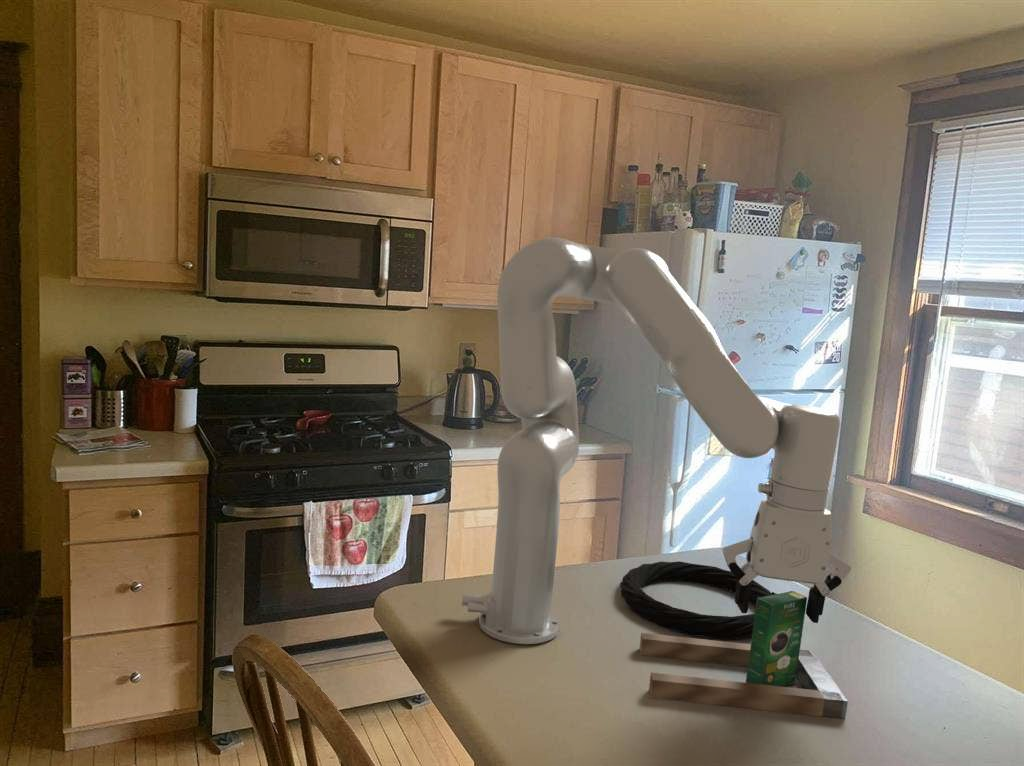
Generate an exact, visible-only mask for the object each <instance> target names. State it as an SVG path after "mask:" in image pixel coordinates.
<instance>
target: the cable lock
mask: <svg viewBox="0 0 1024 766" xmlns="http://www.w3.org/2000/svg"><path fill="white" fill-rule="evenodd" d="M660 580H671V581H682V580H683V581H682V582H689V581H691V582H690V583H701V582H702V583H701V584H704V583H705V584H704V585H708V584H709V586H712V585H713V586H712V587H715V586H716V588H722V589H724V588H726V589H725V590H727V589H728V590H727V591H729V590H731V591H730V592H732V591H733V592H735V593H736V587H737V578H736V577H735V576H734V574H733V573H732V572H731V571H730V570H728V569H727V570H726V569H723V568H720V567H718V566H712V565H704V564H696V563H690V562H685V561H657V562H652V563H642V564H640V565H639V566H638V567H635V568H631V569H629V571H628V572H627V573H626V574H625V575H623V577H622V580H621V582H620V584H619V588H620V595H621V597H622V598H623V599H624V601H625V603H626V605H627V606H628V607H629V608H630V609H632V610H633V612H635V613H636V614H637V615H639V616H640V617H643V618H645V619H647V620H649V621H651V622H653V623H654V624H656V625H658V626H660V627H662V628H667V629H671V630H675V631H678V632H679V633H683V634H684V633H685V634H687V635H690V636H694V637H695V636H696V637H705V638H713V639H723V640H724V639H748V638H752V634H753V627H754V620H755V613H749V614H743V615H736V616H727V615H711V614H702V613H697V612H694V611H691V610H690V611H689V610H685V609H680V608H678V607H674V606H672V605H669V604H667V603H664V602H662V601H659V600H656V599H655V598H653V597H652V596H650V595H648V594H647V593H645V591H644V590H643V589H642V588H643V587H644V586H645V585H648V584H652V582H653V583H656V582H661V581H660ZM749 584H750V586H751V595H750V601H749V602H751V603H752V604H753V605H755V606H756V604H757V598H759V597H765V596H770V595H775V594H777V593H776V592H774V591H772V592H771V590H769V589H767V588H766V587H764V586H763V585H761V584H760V583H758V582H757V581H755V579H753V580H752V581H751V582H750V583H749ZM733 592H732V593H733ZM735 593H734V594H735Z"/></svg>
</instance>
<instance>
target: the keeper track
mask: <svg viewBox="0 0 1024 766" xmlns="http://www.w3.org/2000/svg"><path fill="white" fill-rule="evenodd" d="M750 649H751V644H749V643H742V642H733V641H721V640H712V639H703V638H694V637H685V636H676V635H675V636H673V635H666V634H657V633H655V634H654V633H647V632H641V633H640V642H639V652H640V655H641V656H649V657H650V656H651V657H658V658H667V659H668V658H669V659H680V660H687V661H696V662H705V661H706V663H714V662H716V663H717V664H723V663H726V664H725V665H732V664H733V665H734V666H743V665H744V667H748V662H749V656H750ZM716 663H715V664H716ZM733 665H732V666H733ZM649 677H650V678H649V686H648V687H649V688H648V692H649V696H650V698H651V699H659V700H660V699H661V700H670V701H678V702H687V703H697V704H708V705H715V706H725V707H733V708H735V707H736V708H743V709H752V710H760V711H769V712H779V713H788V714H796V715H807V716H816V717H825V718H832V719H833V718H834V719H840V720H841V719H843V720H846V716H847V709H848V702H849V701H848V699H847V698H846V696H845V694H844V693H843V692H842V691H841V690H840V688H839V686H838V685H837V683H836V682H835V681H834V679H833V678H832V676H831V675H830V674H829V672H828V671H827V670H826V668H825V667H824V665H823V664H822V662H821V661H820V659H819V658H818V657H817V655H816V654H815V652H814V651H813V650H807V649H800V652H799V660H798V667H797V675H796V678H798V680H799V682H800V683H801V685H802V686H803V688H800V687H799V688H798V687H789V686H783V687H781V686H771V685H762V684H753V683H746V682H742V681H733V680H723V679H715V678H705V677H697V676H688V675H687V676H686V675H676V674H671V673H670V674H668V673H659V672H650V676H649Z"/></svg>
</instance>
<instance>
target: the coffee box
mask: <svg viewBox="0 0 1024 766" xmlns="http://www.w3.org/2000/svg"><path fill="white" fill-rule="evenodd" d="M807 602H808V596H805V595H803V594H801V593H798V592H796V591H794V590H790V591H785V592H781V593H776V594H775V595H770V596H765V597H759V598H757V604H756V605H755V613H754V614H755V620H754V627H753V634H752V637H751V642H750V643H751V649H750V656H749V662H748V666H747V671H746V679H745V683H753V684H762V685H771V686H781V687H789V686H790V685H792V684H795V683H796V680H797V667H798V660H799V652H800V650H801V644H802V636H803V630H804V629H803V628H804V624H805V623H804V622H805V615H806V607H807Z"/></svg>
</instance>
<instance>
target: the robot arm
mask: <svg viewBox="0 0 1024 766" xmlns="http://www.w3.org/2000/svg"><path fill="white" fill-rule="evenodd" d="M498 281H499V282H498V286H497V294H496V295H497V296H496V299H497V304H496V305H497V322H498V348H499V350H498V351H499V367H500V370H499V371H500V391H501V392H500V393H501V397H502V402H503V403H504V406H505V408H506V409H507V410H508V412H509V413H510V414H511V415H512V416H514V417H517V418H520V419H521V429H520V430H518V431H517V432H515V433H513V434H512V435H511V436H510V437H509V438H508V439H507V440H506V442H505V443H504V444H503V446H502V448H501V450H500V452H499V454H498V455H499V456H498V459H497V469H496V470H497V474H496V475H497V490H498V491H497V492H498V494H497V496H498V497H497V498H498V499H497V500H498V501H497V502H498V503H497V504H498V505H497V518H496V531H495V533H496V534H495V543H494V545H495V546H494V556H493V558H494V559H493V569H492V582H491V588H490V590H489V593H483V594H482V595H476V594H472V593H465V592H464V593H462V598H461V599H462V601H461V607H467V612H468V613H479V616H478V625H479V628H480V629H481V630H482V631H483V632H484V634H486V635H488V636H489V637H491V638H493V639H496V640H498V641H501V642H503V643H504V642H505V643H509V644H517V645H537V644H542V643H546V642H548V641H550V640H552V639H554V638H555V637H557V635H558V634H559V632H560V621H559V618H557V616H556V615H555V614H554V613H552V606H553V605H552V604H553V593H554V583H555V571H556V563H557V562H556V560H557V551H558V539H559V528H560V517H561V515H560V514H561V511H560V510H561V498H560V496H561V495H560V489H561V488H560V487H561V479H562V478H563V476H564V475H566V474H568V472H569V471H570V470H571V469H572V468H573V467H574V465H575V464H576V461H577V460H578V456H579V449H580V447H579V446H580V437H579V417H578V415H579V414H578V400H577V398H578V397H577V385H576V384H577V383H576V380H575V376H574V373H573V370H572V369H571V367H570V366H569V365H568V363H567V362H566V361H565V360H564V359H562V358H561V357H560V356H557V347H556V346H557V344H556V325H555V318H554V314H553V303H554V301H555V299H556V298H557V297H560V298H561V297H562V298H572V299H579V300H580V299H581V300H589V301H594V302H600V303H607V304H608V303H609V304H614V305H617V306H618V308H619V309H620V311H621V312H622V313H623V315H625V317H626V318H627V319H628V321H630V323H631V324H632V325H633V327H634V328H635V329H636V331H638V333H639V335H641V337H642V338H643V339H644V341H645V342H646V343H647V345H648V346H649V347H650V348H651V350H652V351H653V352H654V353H655V355H656V356H657V358H658V359H659V360H660V362H661V363H662V365H663V366H664V368H665V370H666V372H667V373H668V375H669V376H670V377H671V379H672V380H673V381H674V383H675V384H676V385H677V386H678V388H679V390H680V391H681V392H682V394H683V396H684V397H685V399H686V400H687V401H688V402H689V404H690V406H691V407H692V409H693V410H694V411H695V413H696V414H697V416H698V417H700V419H701V420H702V421H703V423H704V424H705V425H706V426H707V428H708V429H709V430H710V432H711V433H712V434H713V436H714V437H715V438H716V440H718V442H719V443H720V444H721V445H722V446H723V447H724V449H725V450H727V451H728V452H729V453H731V454H732V455H735V456H737V457H739V458H743V459H755V458H759V457H762V456H764V455H766V454H767V453H768V452H770V450H772V449H773V452H774V456H773V461H772V468H771V474H770V477H769V478H768V481H767V482H764V483H763V482H759V483H758V486H757V487H758V488H757V491H758V494H759V493H761V494H764V495H765V496H766V497H767V498H762V500H761V502H760V504H759V507H758V509H757V512H756V515H755V518H754V519H753V520H754V521H753V525H752V527H751V531H750V535H749V538H747V539H745V540H742V541H739V542H736V543H733V544H729V545H727V546H724V547H723V548H722V554H723V557H724V559H725V562H726V565H727V567H728V569H729V571H731V572H732V573H733V574H734V576H735V577H736V578H737V587H736V593H734V603H735V604H736V605H737V607H738V609H739V611H740V612H741V614H744V615H747V614H746V613H748V611H749V607H750V602H751V601H750V595H751V586H750V584H749V583H750V582H751V581H752V580H755V579H756V578H757V577H758V576H759V577H763V578H766V579H774V580H780V581H787V582H794V583H803V584H812V585H813V586H811V587H810V588H809V591H808V596H807V603H806V610H805V615H806V616H807V617H808V618H809V620H810V621H811V623H814V624H818V623H819V620H820V616H822V615H823V612H824V607H825V601H826V597H828V596H829V595H830V594H831V592H832V591H833V590H834V589H836V588H838V587H839V586H841V585H842V581H843V580H845V578H846V577H847V575H848V574H849V573H850V572H851V570H852V568H851V566H850V565H849V564H848V563H847V562H846V561H844V560H843V559H841V558H840V557H838V556H837V555H835V554H834V553H832V552H831V548H832V529H833V528H832V526H833V525H832V512H831V511H830V510H828V509H827V508H826V505H827V502H828V501H827V499H828V494H829V488H830V482H831V478H832V477H831V476H832V471H833V467H834V462H835V461H834V460H835V455H836V448H837V443H838V439H839V432H840V427H841V420H840V416H839V415H838V414H837V413H836V412H834V411H833V410H831V409H827V408H822V407H818V406H815V405H807V404H790V403H789V404H788V403H786V402H781V401H777V400H774V399H770V398H768V397H764V396H760V395H757V394H756V393H755V392H754V389H752V388H751V387H750V386H749V384H748V383H747V382H746V380H745V379H744V377H742V375H741V374H740V372H739V370H738V369H736V367H735V365H734V364H733V362H732V361H731V359H730V358H729V356H728V355H727V353H726V352H725V350H724V348H723V346H722V344H721V342H720V339H719V336H718V335H717V332H716V330H715V329H714V327H713V326H712V324H711V322H710V321H709V320H708V319H707V317H706V316H705V315H704V314H703V313H702V312H701V310H700V309H699V307H697V305H696V304H695V303H694V302H693V301H692V299H691V298H690V296H689V295H688V294H687V292H685V290H684V289H683V288H682V287H681V286H680V284H679V283H678V282H677V280H676V279H675V278H674V277H673V275H672V274H671V272H670V269H669V267H668V265H667V263H666V261H665V260H664V259H663V258H662V257H661V256H659V254H656V253H654V252H653V251H651V250H648V249H646V248H642V247H632V248H627V249H617V248H613V247H612V248H610V247H604V246H603V247H602V246H597V245H589V244H582V243H579V242H576V241H571V240H569V239H566V238H563V237H559V236H558V237H557V236H548V237H542V238H538V239H536V240H534V241H531V242H529V243H528V244H526V245H524V246H523V247H522V248H520V249H519V250H518V251H516V253H514V254H513V256H511V258H510V259H509V260H508V262H507V263H506V264H505V266H504V268H503V270H502V272H501V275H500V278H499V280H498ZM745 553H746V563H744V564H743V565H741V566H739V564H737V559H736V557H737V556H739V555H742V554H745ZM830 565H832V566H833V567H834V570H833V572H832V573H829V567H830Z"/></svg>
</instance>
